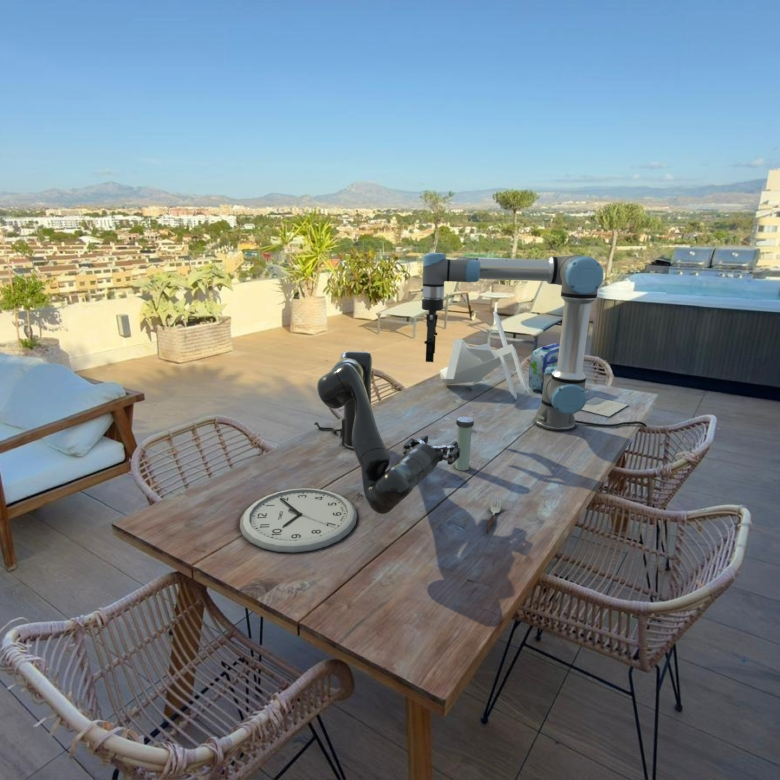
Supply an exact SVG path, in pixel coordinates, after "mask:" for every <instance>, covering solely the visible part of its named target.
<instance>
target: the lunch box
mask: <svg viewBox="0 0 780 780" xmlns="http://www.w3.org/2000/svg"><path fill="white" fill-rule="evenodd" d="M559 346H560V343H551V344H548V345H544V346H541V347H538V348H536V349H534V350H533V351H532V353H531V355H530V359H529V370H528V371H529V372H528V389H531V390H536V391H541V392H543V382H544V373H545V369H546V368H547V367H553V366H557V364H558V355H559Z"/></svg>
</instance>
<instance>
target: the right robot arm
mask: <svg viewBox="0 0 780 780" xmlns="http://www.w3.org/2000/svg"><path fill="white" fill-rule="evenodd" d="M422 264H423V265H422V288H420V292H421V293H422V294H421V296H422V299H421V309H422V310H423V311H428V313H426V316H425V320H426V340H424V342H423V343H424V344H425V362H426V363H434V359H435V357H434V356H435V353H436V338H437V337H436V336H438V332H437V329H436V328H437V324H438V318H439V315H438V314H437V311H438V312H439V311H442V310H444V299H443V298H444V297H445V282H447V283H449V282H452V283H453V282H457V283H468V284H470V283H477V282H479V281H480V280H495V281H497V280H499V281H500V280H501V281H526V282H527V281H531V282H546V283H547V284H548V285H557V286H561V289H560V298H561V299H562V300H563V303H564V305H563V313H562V322H561V330H560V339H559V344H560V346H559V355H558V364H557V366H553V367H547V368H546V369H545V373H544V382H543V391H541V392H542V394H541V402H540V405H539V407H538V410H537V411H536V413H535V417H534V424H535V425H536V426H537V427H539V428H542V429H544V430H549V431H556V432H567V431H572V430H574V429H575V428H576V424H582V425H586V426H595V427H603V428H605V427H607V428H610V427H611V428H613V427H619V426H623V425H642V426H643V427H644V428H648V425H647V424H646V423H644V422H643V421H640V420H639V421H637V420H636V421H622V422H618V423H613V424H612V423H611V424H610V423H609V424H607V423H597V422H589V421H583V420H578V419H576V418H575V417H576V416H575V414H576V413H579V412H580V411H582V410H581V409H582V408H583V407H584V406H585V404H586V401H588V397H587V392H586V389H585V388H586V383H587V382H586V381H587V375H586V374H585V373H584V371H583V369H584V361H585V355H586V347H587V339H588V338H587V337H588V330H589V324H590V318H591V317H590V316H591V308H592V303H593V302H594V301H596V300H597V298H598V294H599V293H598V291H599V288H601V285H602V284H603V281H604V269H603V267H602V265H601V264H600V262H599V261H597V260H596V259H595V258H594V257H592V256H587V255H581V254H574V255H573V254H572V255H565V256H551V257H549V258H548V259H545V258H544V259H543V258H542V259H541V258H540V259H539V258H501V257H500V258H497V257H496V258H495V257H494V258H492V257H466V256H460V257H457V258H455V259H451V258H449V259H448V258H447V257H446V253H444V252H427V253H425V254H424V255H423V263H422Z"/></svg>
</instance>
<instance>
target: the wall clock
mask: <svg viewBox="0 0 780 780" xmlns="http://www.w3.org/2000/svg"><path fill="white" fill-rule="evenodd" d="M357 519H358V513H357V509H356V507H355V506H354V504H352V503H351V501H350V500H349V499H347V498H346V497H344V496H342V495H341V494H338V493H335V492H333V491H329V490H325V489H319V488H307V487H305V488H304V487H302V488H292V489H286V490H282V491H277V492H273V493H272V494H268V495H266V496H264V497H261V498H260V499H258V500H257V501H255V502H253V503H251V505H250V506H248V507H247V509H245V510H244V512H243V513H242V515H241V517H240V520H239V530H240V532H241V534H242V536H243V537H244V539H246V541H248V542H249V543H250V544H252V545H254V546H256V547H258V548H260V549H263V550H268V551H273V552H277V553H302V552H311V551H315V550H319V549H322V548H326V547H328V546H330V545H333V544H335V543H337V542H339V541H341V540H342V539H343V538H345V537H346V536H348V535H349V534H350V533H351V532H352V530H353V529H354V527H355V526H356V523H357Z"/></svg>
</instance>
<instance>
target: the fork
mask: <svg viewBox="0 0 780 780" xmlns="http://www.w3.org/2000/svg"><path fill="white" fill-rule="evenodd" d="M494 501H495V502H494ZM502 501H503V499H502V498H501V499H497V498H493V499H492V503H491V506H490V512H491V513H492V515H491V516H490V518H489V519H488V525H487V530H486V533H487V534H489V532H490V529H491V528H492V526H493V524H494V519H495V514H499V513H500V512H501V509H502Z"/></svg>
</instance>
